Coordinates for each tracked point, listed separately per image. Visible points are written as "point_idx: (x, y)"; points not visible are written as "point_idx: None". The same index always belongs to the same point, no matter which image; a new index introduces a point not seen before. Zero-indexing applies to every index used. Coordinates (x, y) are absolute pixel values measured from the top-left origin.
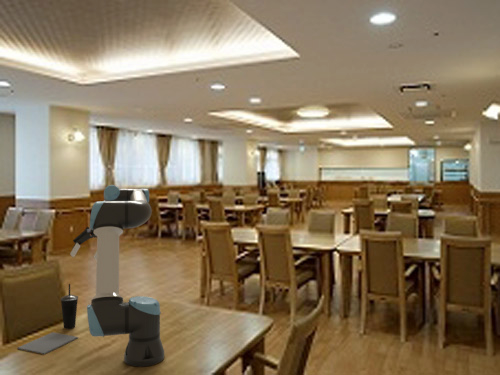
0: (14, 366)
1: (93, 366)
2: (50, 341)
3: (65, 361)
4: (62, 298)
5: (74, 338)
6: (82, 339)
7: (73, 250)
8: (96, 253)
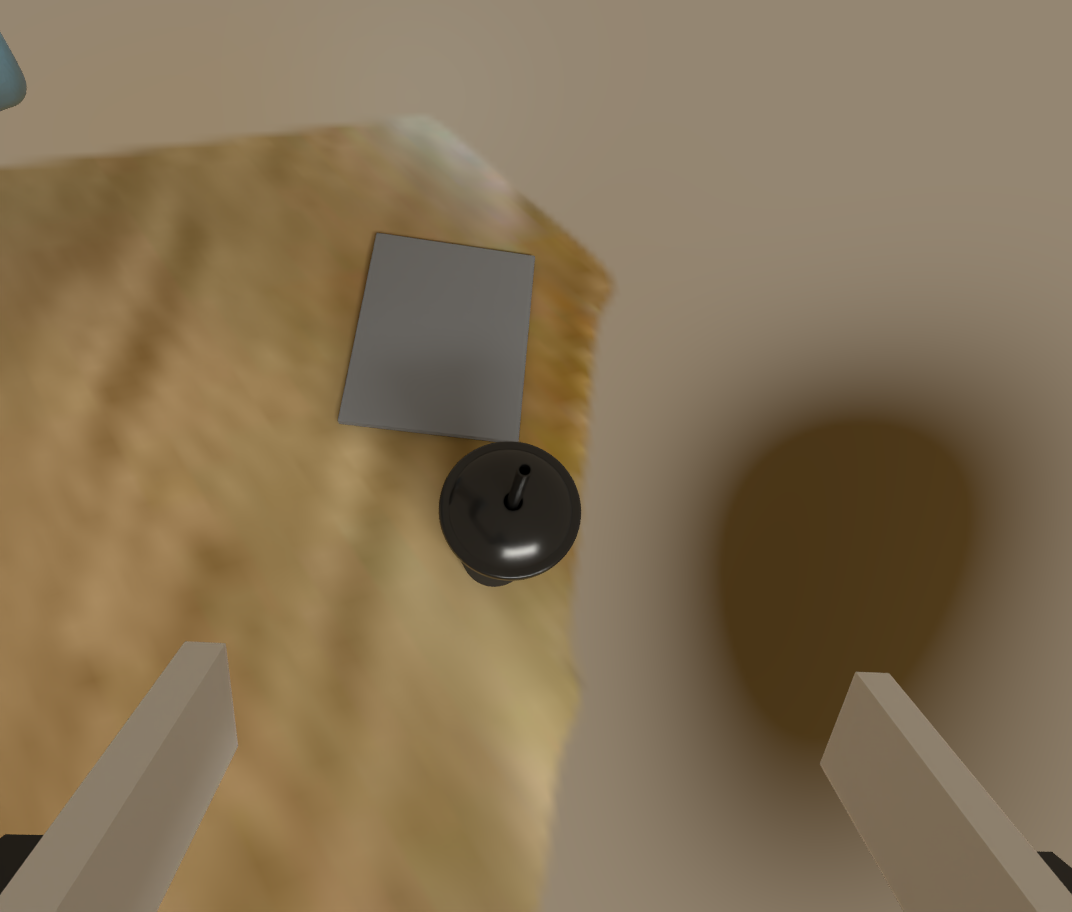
0: (419, 141)
1: (85, 185)
2: (440, 339)
3: (240, 202)
4: (543, 461)
5: (342, 398)
6: (303, 417)
7: (922, 763)
8: (130, 724)
